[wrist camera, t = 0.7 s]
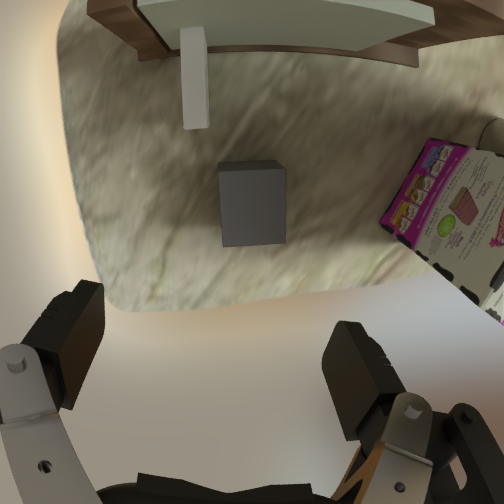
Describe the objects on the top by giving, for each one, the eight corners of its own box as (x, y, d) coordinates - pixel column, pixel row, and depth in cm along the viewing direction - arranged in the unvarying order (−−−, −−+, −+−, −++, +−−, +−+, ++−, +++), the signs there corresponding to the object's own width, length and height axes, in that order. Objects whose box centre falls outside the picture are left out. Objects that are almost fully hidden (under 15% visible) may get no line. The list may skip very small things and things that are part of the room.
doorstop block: (274, 160, 28) (285, 168, 24) (275, 223, 31) (285, 243, 26) (218, 162, 28) (218, 171, 23) (222, 226, 30) (222, 247, 26)
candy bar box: (407, 244, 33) (503, 330, 18) (376, 223, 32) (476, 310, 17) (456, 161, 29) (572, 207, 14) (428, 134, 28) (554, 168, 13)
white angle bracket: (356, 39, 23) (432, 7, 12) (358, 124, 26) (438, 137, 15) (171, 37, 22) (137, -13, 11) (174, 128, 25) (140, 138, 14)
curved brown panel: (413, 27, 23) (520, 1, 10) (415, 67, 25) (529, 59, 11) (139, 16, 21) (74, -55, 8) (139, 61, 23) (65, 16, 10)
